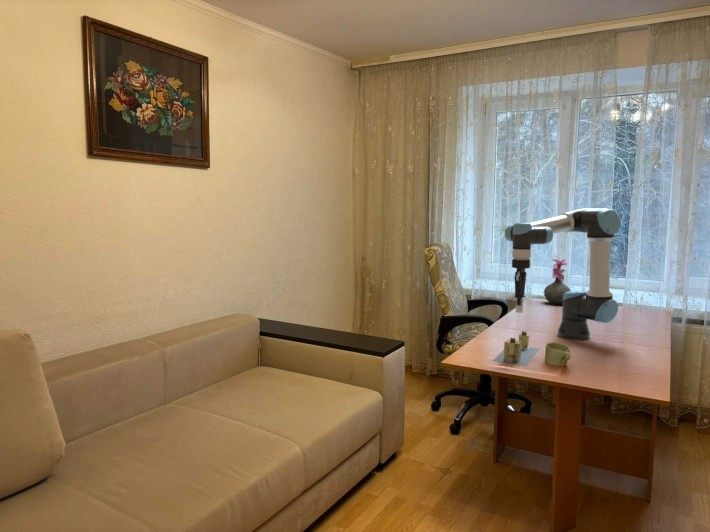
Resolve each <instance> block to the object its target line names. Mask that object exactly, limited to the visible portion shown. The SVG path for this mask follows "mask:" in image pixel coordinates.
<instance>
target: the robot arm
mask: <svg viewBox="0 0 710 532" xmlns="http://www.w3.org/2000/svg"><path fill="white" fill-rule="evenodd" d="M620 228H621V218H620V216H619V214H618V213H617V212H616V210H614V209H611V208H606V207H605V208H588V207H587V208H579V209H575V210H571V211H567V212H563V213H562V214H561V213H560V215H558V216H555V217H550V218H546V219H541V220H536V221H531V222H516V223H515V222H514V224H513V225H508V226H506V228H505V230H504V238H505V240H507V241H508V242H512V250H510V253H511V255H512V256H511V257H512V259H511V267H512V268H513V269H516V270H515V271H516V272H514V277H513V278H514V297H513V298H515V299H516V300H515V301H516V302H515V313H518V314H519V313H520V314H522V313H523V312H524V298H526V295H525V292H526V291H525V290H526V281H527V272H526V269H530V268H531V257H532V255H531V254H532V252H531V250H532V249H531V247H532V245H545V244H549V243H552V242H551V241H552V240H553V237H554V234H557V233H562V232H564V233H571V232H573V233H574V232H576V233H585V234H586V238H587V240H589V242H590V243H589V244H590V245H589V248H590V249H589V290H588V291H586V290H571V291H570V292H565V293H564V295H563V304H562V308H561V309H562V311H561V313H562V314H561V315H562V316H561V322H560V324H559V327H558V329H557V336H558V337H560V338H563V339H569V340H578V341H581V340H588V339H590V337H591V332H590V329H589V325H588V320H590V321H594V322H596V323H605V324H606V323H607V324H608V323H610V322H612V321H613V320H614V319H615V318H616V317H617V314H618V312H619V303H618V302H617V301H616V300H615V299H613V293H612V292H611V291H610V271H611V270H610V269H611V268H610V267H611V241H612V240H613V239H614V238H615V234H617V233H618V232H619V229H620Z"/></svg>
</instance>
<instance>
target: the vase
mask: <svg viewBox="0 0 710 532" xmlns="http://www.w3.org/2000/svg"><path fill="white" fill-rule="evenodd" d="M566 261H567V260H566V259H563V258H561V259H560V260H559V259H558V258H557V259H556V258H555V259H552V262H555V263H554V264H553V265H552V279H555V280H554V282H551V283H550V284H548V285H547V286H546V287H545V288H544V290H543V296H544V298H545V300H546V301H548V302H549V303H551V305H555V306H563V295H564V293H565V292H570V291H572V290H571V288H570V287H569V286H567V285H566V284H564V282H565V276H564V272H567V271H566V270H565V269H561V268H562V266H566V267H567V266H568V265H567V262H566Z"/></svg>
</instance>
